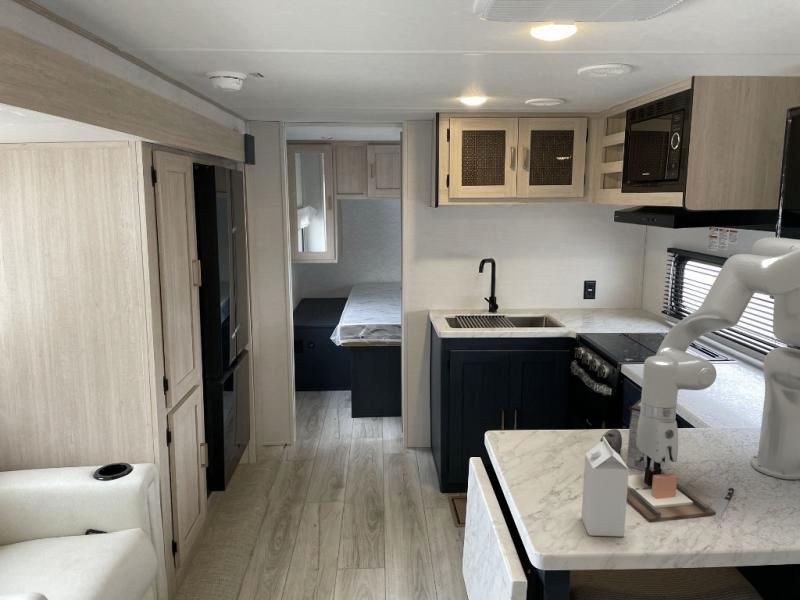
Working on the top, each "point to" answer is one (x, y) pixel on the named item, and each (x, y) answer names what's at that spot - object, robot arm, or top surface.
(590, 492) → the milk carton
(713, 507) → the chef's knife
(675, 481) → the ticket stub
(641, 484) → the ticket board
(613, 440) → the perforated stone tool
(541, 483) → the top surface
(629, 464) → the coffee box
